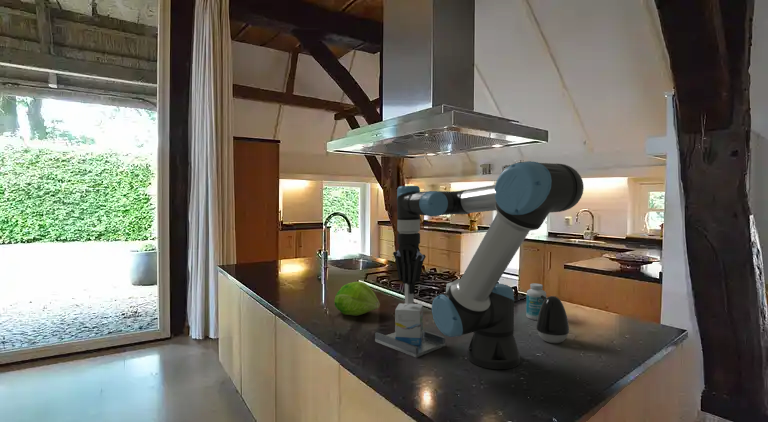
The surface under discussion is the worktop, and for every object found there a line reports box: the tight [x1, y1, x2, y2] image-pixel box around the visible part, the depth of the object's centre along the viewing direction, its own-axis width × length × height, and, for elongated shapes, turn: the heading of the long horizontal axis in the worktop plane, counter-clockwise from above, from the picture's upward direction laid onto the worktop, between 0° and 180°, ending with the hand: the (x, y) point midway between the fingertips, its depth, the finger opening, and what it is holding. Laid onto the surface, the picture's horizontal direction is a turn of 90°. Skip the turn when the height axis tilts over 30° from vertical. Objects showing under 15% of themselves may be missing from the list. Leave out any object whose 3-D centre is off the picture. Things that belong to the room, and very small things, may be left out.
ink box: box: [394, 302, 424, 346], centre depth 136 cm, size 9×8×12 cm
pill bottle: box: [525, 282, 547, 321], centre depth 163 cm, size 8×7×14 cm
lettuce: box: [333, 281, 381, 317], centre depth 170 cm, size 15×20×14 cm
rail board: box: [374, 329, 446, 359], centre depth 137 cm, size 19×14×3 cm
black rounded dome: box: [536, 295, 570, 344], centre depth 138 cm, size 10×10×15 cm
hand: (409, 302), depth 136 cm, fingers closed
